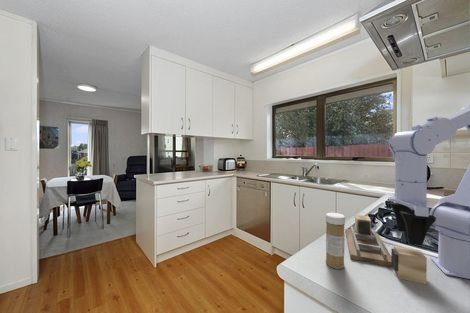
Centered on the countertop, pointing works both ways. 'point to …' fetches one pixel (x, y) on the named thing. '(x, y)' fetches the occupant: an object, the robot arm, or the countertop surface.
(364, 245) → the rail board
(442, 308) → the countertop surface
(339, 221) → the sprinkles bottle
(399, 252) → the block
